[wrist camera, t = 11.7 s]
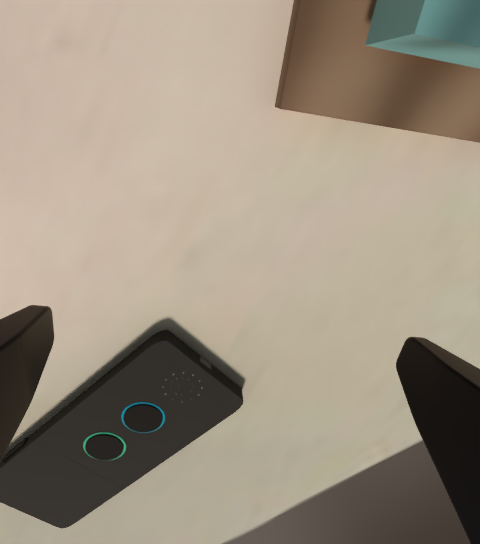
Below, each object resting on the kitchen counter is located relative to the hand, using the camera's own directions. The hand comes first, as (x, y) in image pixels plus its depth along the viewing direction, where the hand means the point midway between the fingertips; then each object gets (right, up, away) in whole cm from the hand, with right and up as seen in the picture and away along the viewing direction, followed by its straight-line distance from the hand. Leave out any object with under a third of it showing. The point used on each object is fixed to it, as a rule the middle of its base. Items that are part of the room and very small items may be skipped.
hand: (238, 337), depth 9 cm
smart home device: (-10, -10, +19) cm, 23 cm away
